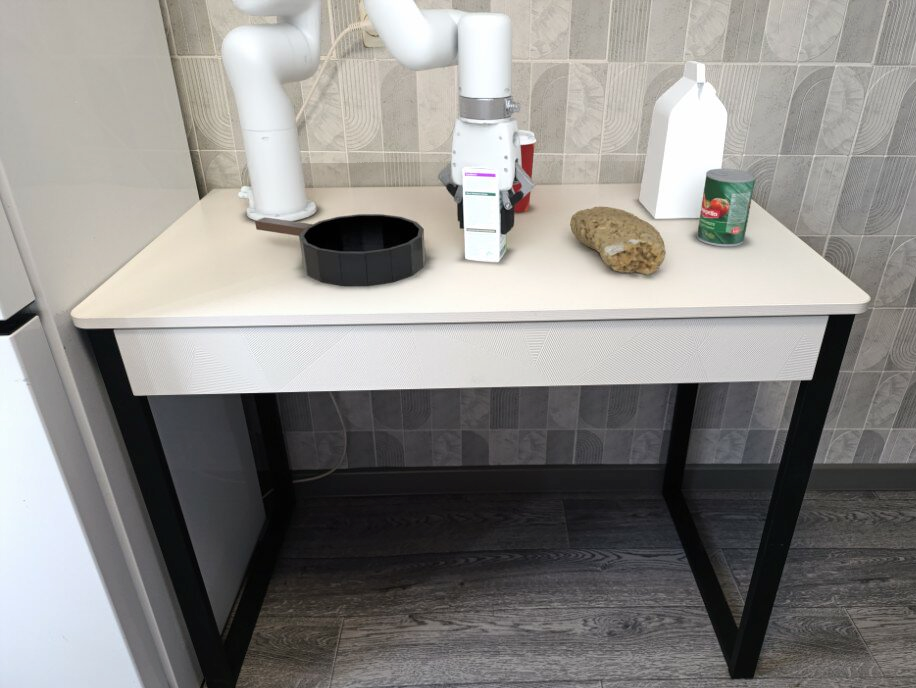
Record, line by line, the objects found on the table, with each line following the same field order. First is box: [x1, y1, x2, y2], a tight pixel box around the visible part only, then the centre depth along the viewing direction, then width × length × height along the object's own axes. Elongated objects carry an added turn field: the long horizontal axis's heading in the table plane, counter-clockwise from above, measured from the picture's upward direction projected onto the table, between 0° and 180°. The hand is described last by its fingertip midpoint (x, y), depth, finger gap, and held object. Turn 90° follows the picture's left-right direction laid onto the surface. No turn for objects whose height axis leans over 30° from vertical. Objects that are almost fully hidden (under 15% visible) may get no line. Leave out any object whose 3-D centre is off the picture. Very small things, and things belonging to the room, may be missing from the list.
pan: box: [254, 213, 426, 287], centre depth 108 cm, size 28×18×5 cm, turn 68°
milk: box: [638, 60, 728, 220], centre depth 128 cm, size 12×12×26 cm
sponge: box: [569, 206, 667, 276], centre depth 110 cm, size 13×8×20 cm
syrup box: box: [462, 167, 508, 263], centre depth 108 cm, size 6×6×14 cm
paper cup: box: [512, 129, 537, 214], centre depth 130 cm, size 8×8×14 cm
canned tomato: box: [696, 168, 757, 248], centre depth 116 cm, size 8×8×11 cm
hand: (485, 228), depth 109 cm, fingers closed on syrup box, 6 cm apart
